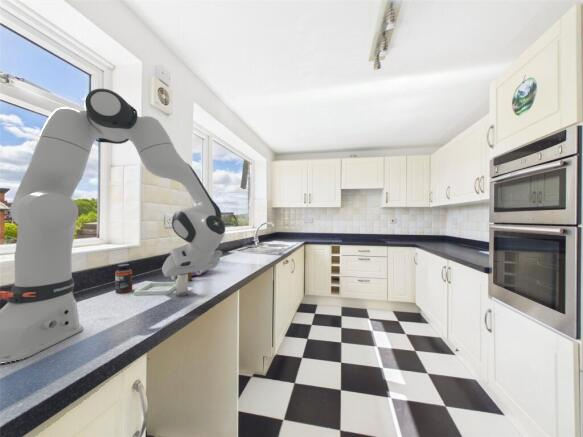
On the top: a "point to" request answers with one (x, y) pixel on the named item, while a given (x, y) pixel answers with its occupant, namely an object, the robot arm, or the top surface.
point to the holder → (174, 297)
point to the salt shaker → (182, 285)
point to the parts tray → (156, 292)
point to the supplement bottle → (123, 279)
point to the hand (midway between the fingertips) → (186, 275)
